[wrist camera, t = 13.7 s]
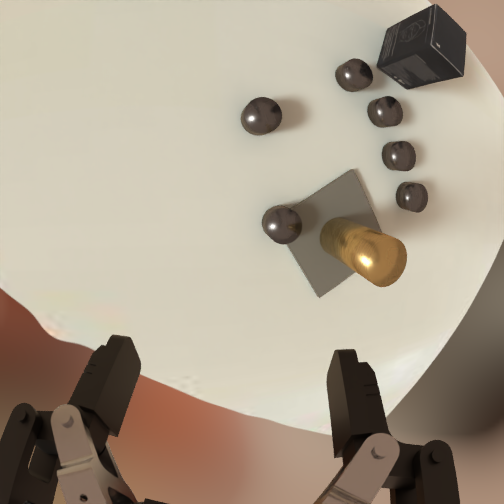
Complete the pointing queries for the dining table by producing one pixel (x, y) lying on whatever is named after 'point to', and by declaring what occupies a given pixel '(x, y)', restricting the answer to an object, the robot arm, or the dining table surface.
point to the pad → (314, 218)
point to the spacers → (381, 115)
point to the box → (424, 49)
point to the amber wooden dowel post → (364, 250)
